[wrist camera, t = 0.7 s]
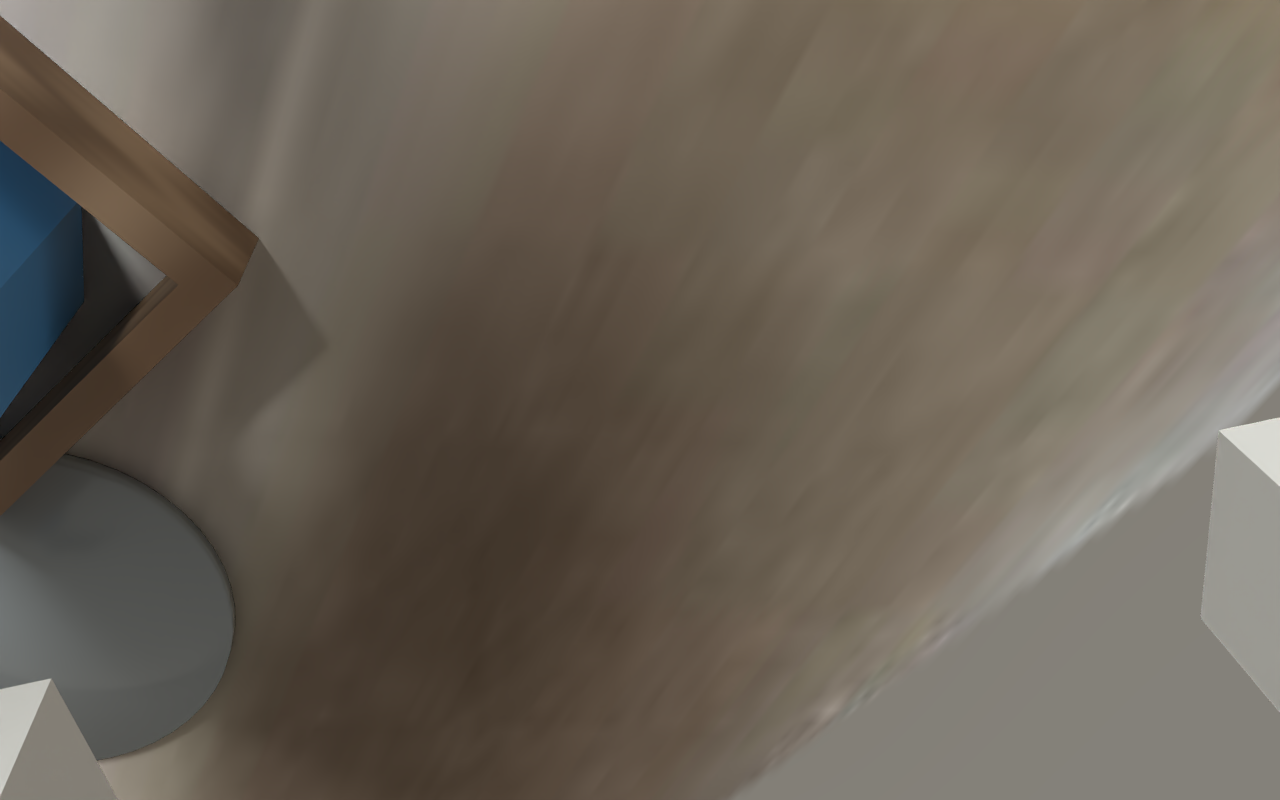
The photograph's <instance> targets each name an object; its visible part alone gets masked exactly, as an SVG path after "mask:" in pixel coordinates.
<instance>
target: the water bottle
mask: <svg viewBox="0 0 1280 800" xmlns="http://www.w3.org/2000/svg"><path fill="white" fill-rule="evenodd" d="M83 302H84V278H83V240H82V207H81V206H80V205H79V204H78V203H77V202H75V201H74V200H73V199H72V198H70V197H69V196H68V195H67V194H65V193H64V192H63V191H62V190H61V189H59V188H58V187H57V186H56V185H54V184H53V183H52V182H51V181H49V180H48V179H47V178H46V177H44V176H43V175H42V174H41V173H40V172H38V171H37V170H36V169H35V168H33V167H32V166H31V165H30V164H28V163H27V162H26V161H25V160H23V159H22V158H21V157H20V156H19V155H17V154H16V153H15V152H14V151H12V150H11V149H10V148H9V147H7V146H6V145H5V144H4V143H2V142H1V141H0V417H1V416H2V415H3V413H4V412H5V410H6V409H7V408H8V406H9V405H10V403H11V402H12V401H13V399H14V398H15V397H16V395H17V394H18V392H19V391H20V390H21V388H22V387H23V385H24V384H25V383H26V381H27V380H28V378H29V377H30V376H31V374H32V373H33V372H34V370H35V369H36V367H37V366H38V365H39V363H40V362H41V360H42V359H43V358H44V356H45V355H46V353H47V352H48V351H49V349H50V348H51V347H52V345H53V344H54V342H55V341H56V340H57V338H58V337H59V335H60V334H61V333H62V331H63V330H64V328H65V327H66V326H67V324H68V323H69V322H70V320H71V319H72V317H73V316H74V315H75V313H76V312H77V310H78V309H79V308H80V306H81V305H82V303H83Z"/></svg>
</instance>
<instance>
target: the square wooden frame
mask: <svg viewBox="0 0 1280 800" xmlns="http://www.w3.org/2000/svg"><path fill="white" fill-rule="evenodd" d="M0 141H1V142H2V143H4V144H5V145H6V146H7V147H9V148H10V149H11V150H12V151H14V152H15V153H16V154H17V155H19V156H20V157H21V158H22V159H23V160H25V161H26V162H27V163H28V164H30V165H31V166H32V167H33V168H35V169H36V170H37V171H38V172H40V173H41V174H42V175H43V176H44V177H46V178H47V179H48V180H49V181H51V182H52V183H53V184H54V185H56V186H57V187H58V188H59V189H61V190H62V191H63V192H64V193H65V194H67V195H68V196H69V197H70V198H72V199H73V200H74V201H75V202H77V203H78V204H79V205H80V206H81V207H83V208H84V209H85V210H86V211H88V212H89V213H90V214H91V215H93V216H94V217H95V218H96V219H98V220H99V221H100V222H101V223H102V224H104V225H105V226H106V227H107V228H109V229H110V230H111V231H112V232H114V233H115V234H116V235H117V236H119V237H120V238H121V239H122V240H123V241H125V242H126V243H127V244H128V245H130V246H131V247H132V248H133V249H135V250H136V251H137V252H138V253H140V254H141V255H142V256H143V257H144V258H146V259H147V260H148V261H149V262H151V263H152V264H153V265H154V266H156V267H157V268H158V269H159V270H161V271H162V272H163V273H164V274H165V275H167V276H166V277H165V278H164V279H163V280H162V281H161V282H160V283H159V284H158V285H157V286H156V287H155V288H154V289H153V290H152V291H151V292H150V293H149V294H148V295H147V296H146V297H145V298H144V299H143V300H142V301H141V302H140V303H139V304H138V305H137V306H136V307H135V308H134V309H133V310H132V311H131V312H130V313H129V314H128V315H127V316H126V317H125V318H124V319H123V320H122V321H121V322H120V323H118V324H117V325H116V326H115V327H114V328H113V329H112V330H111V331H110V332H109V333H108V334H107V335H106V336H105V337H104V338H103V339H102V340H101V341H100V342H99V343H98V344H97V345H96V346H95V347H94V348H93V349H92V350H91V351H90V352H89V353H88V354H87V355H86V356H85V357H84V358H83V359H82V360H81V361H80V362H79V363H78V364H77V365H76V366H75V367H74V368H73V369H72V370H71V371H70V372H69V373H68V374H67V375H66V376H65V377H64V378H63V379H62V380H61V381H60V382H59V383H58V384H57V385H56V386H55V387H54V388H53V389H52V390H51V391H50V392H49V393H48V394H47V395H46V396H45V397H44V398H43V399H42V400H41V401H40V402H39V403H38V404H37V405H36V406H35V407H34V408H33V409H32V410H31V411H30V412H29V413H28V414H27V415H26V416H25V417H24V418H23V419H22V420H21V421H20V422H19V423H18V424H17V425H16V426H15V427H14V428H13V429H12V430H11V431H10V432H9V433H8V434H7V435H6V436H5V437H4V438H3V439H2V440H1V441H0V516H1V515H2V514H3V513H4V512H5V511H6V510H7V509H8V508H9V507H10V506H11V505H12V504H13V503H14V502H15V501H16V500H17V499H19V498H20V497H21V496H22V495H23V494H24V493H25V492H26V491H27V490H28V489H29V488H30V487H31V486H32V485H33V484H34V483H35V482H36V481H37V480H38V479H39V478H40V477H41V476H42V475H43V474H44V473H45V472H46V471H47V470H48V469H49V468H50V467H51V466H52V465H53V464H55V463H56V462H57V461H58V460H59V459H60V458H61V457H62V456H63V455H64V454H65V453H66V452H67V451H68V450H69V449H70V448H71V447H72V446H73V445H74V444H75V443H76V442H77V441H78V440H79V439H80V438H81V437H82V436H83V435H84V434H85V433H86V432H87V431H88V430H90V429H91V428H92V427H93V426H94V425H95V424H96V423H97V422H98V421H99V420H100V419H101V418H102V417H103V416H104V415H105V414H106V413H107V412H108V411H109V410H110V409H111V408H112V407H113V406H114V405H115V404H116V403H117V402H118V401H119V400H120V399H121V398H122V397H123V396H125V395H126V394H127V393H128V392H129V391H130V390H131V389H132V388H133V387H134V386H135V385H136V384H137V383H138V382H139V381H140V380H141V379H142V378H143V377H144V376H145V375H146V374H147V373H148V372H149V371H150V370H151V369H152V368H153V367H154V366H155V365H156V364H157V363H158V362H160V361H161V360H162V359H163V358H164V357H165V356H166V355H167V354H168V353H169V352H170V351H171V350H172V349H173V348H174V347H175V346H176V345H177V344H178V343H179V342H180V341H181V340H182V339H183V338H184V337H185V336H186V335H187V334H188V333H189V332H190V331H191V330H192V329H193V328H195V327H196V326H197V325H198V324H199V323H200V322H201V321H202V320H203V319H204V318H205V317H206V316H207V315H208V314H209V313H210V312H211V311H212V310H213V309H214V308H215V307H216V306H217V305H218V304H219V303H220V302H221V301H222V300H223V299H224V298H225V297H226V296H227V295H228V294H230V293H231V292H232V291H233V290H234V289H235V288H236V287H237V286H238V284H239V282H240V279H241V277H242V275H243V273H244V270H245V268H246V266H247V264H248V262H249V259H250V257H251V255H252V253H253V250H254V248H255V246H256V244H257V241H258V239H259V238H258V237H257V236H255V235H254V234H253V233H252V232H251V231H250V230H249V229H247V228H246V227H245V226H244V225H243V224H242V223H240V222H239V221H238V220H237V219H236V218H235V217H233V216H232V215H231V214H230V213H229V212H228V211H226V210H225V209H224V208H223V207H222V206H221V205H219V204H218V203H217V202H216V201H215V200H214V199H212V198H211V197H210V196H209V195H208V194H207V193H205V192H204V191H203V190H202V189H201V188H200V187H199V186H197V185H196V184H195V183H194V182H193V181H192V180H190V179H189V178H188V177H187V176H186V175H185V174H183V173H182V172H181V171H180V170H179V169H178V168H176V167H175V166H174V165H173V164H172V163H171V162H169V161H168V160H167V159H166V158H165V157H164V156H162V155H161V154H160V153H159V152H158V151H157V150H155V149H154V148H153V147H152V146H151V145H150V144H149V143H147V142H146V141H145V140H144V139H143V138H142V137H140V136H139V135H138V134H137V133H136V132H135V131H133V130H132V129H131V128H130V127H129V126H128V125H126V124H125V123H124V122H123V121H122V120H121V119H119V118H118V117H117V116H116V115H115V114H114V113H112V112H111V111H110V110H109V109H108V108H107V107H106V106H104V105H103V104H102V103H101V102H100V101H99V100H97V99H96V98H95V97H94V96H93V95H92V94H90V93H89V92H88V91H87V90H86V89H85V88H83V87H82V86H81V85H80V84H79V83H78V82H76V81H75V80H74V79H73V78H72V77H71V76H69V75H68V74H67V73H66V72H65V71H64V70H62V69H61V68H60V67H59V66H58V65H57V64H56V63H54V62H53V61H52V60H51V59H50V58H49V57H47V56H46V55H45V54H44V53H43V52H42V51H40V50H39V49H38V48H37V47H36V46H35V45H33V44H32V43H31V42H30V41H29V40H28V39H26V38H25V37H24V36H23V35H22V34H21V33H19V32H18V31H17V30H16V29H15V28H14V27H12V26H11V25H10V24H9V23H8V22H7V21H6V20H4V19H3V18H2V17H1V16H0Z"/></svg>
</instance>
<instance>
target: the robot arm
mask: <svg viewBox="0 0 1280 800" xmlns="http://www.w3.org/2000/svg"><path fill="white" fill-rule="evenodd" d="M1213 484H1214V485H1213V494H1212V504H1211V514H1210V525H1209V535H1208V546H1207V556H1206V566H1205V576H1204V587H1203V597H1202V607H1201V619H1202V620H1203V621H1204V623H1205V624H1206V625H1207V626H1208V628H1209V629H1210V630H1211V631H1212V632H1213V634H1214V635H1215V636H1216V637H1217V638H1218V640H1219V641H1220V642H1221V643H1222V644H1223V645H1224V647H1225V648H1226V649H1227V650H1228V651H1229V653H1230V654H1231V655H1232V656H1233V657H1234V659H1235V660H1236V661H1237V662H1238V663H1239V665H1240V666H1241V667H1242V668H1243V669H1244V670H1245V672H1246V673H1247V674H1248V675H1249V677H1250V678H1251V679H1252V680H1253V681H1254V682H1255V684H1256V685H1257V686H1258V687H1259V688H1260V689H1261V691H1262V692H1263V693H1264V694H1265V696H1266V697H1267V698H1268V699H1269V700H1270V702H1271V703H1272V704H1273V705H1274V706H1275V708H1276V709H1277V710H1278V711H1279V712H1280V418H1275V419H1270V420H1265V421H1261V422H1257V423H1251V424H1247V425H1242V426H1237V427H1232V428H1228V429H1223V430H1219V431H1218V442H1217V452H1216V464H1215V473H1214V483H1213ZM0 800H118V798H117V797H116V795H115V793H114V791H113V789H112V788H111V786H110V784H109V782H108V780H107V778H106V777H105V775H104V773H103V771H102V769H101V768H100V766H99V764H98V762H97V760H96V759H95V757H94V755H93V753H92V751H91V749H90V748H89V746H88V744H87V742H86V740H85V739H84V737H83V735H82V733H81V731H80V729H79V728H78V726H77V724H76V722H75V720H74V719H73V717H72V715H71V713H70V711H69V710H68V708H67V706H66V704H65V702H64V700H63V699H62V697H61V695H60V693H59V691H58V690H57V688H56V686H55V684H54V682H53V680H52V679H46V680H41V681H37V682H32V683H27V684H23V685H18V686H13V687H8V688H4V689H0Z"/></svg>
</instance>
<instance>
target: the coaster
mask: <svg viewBox="0 0 1280 800" xmlns="http://www.w3.org/2000/svg"><path fill="white" fill-rule="evenodd" d="M234 630H235V604H234V599H233V594H232V589H231V585H230V582H229V580H228V577H227V574H226V572H225V569H224V566H223V564H222V563H221V561H220V559H219V557H218V555H217V554H216V552H215V550H214V548H213V547H212V545H211V544H210V543H209V541H208V540H207V539H206V537H205V536H204V535H203V533H202V532H201V531H200V529H199V528H198V527H197V526H196V525H195V524H194V523H193V522H192V521H191V520H190V519H189V518H188V517H187V516H186V515H185V514H184V513H183V512H182V511H181V510H180V509H178V508H177V507H176V506H175V505H173V504H172V503H171V502H170V501H168V500H167V499H166V498H165V497H163V496H162V495H160V494H159V493H157V492H156V491H154V490H152V489H151V488H149V487H148V486H146V485H144V484H143V483H141V482H140V481H137V480H135V479H133V478H131V477H129V476H127V475H125V474H123V473H121V472H119V471H117V470H115V469H112V468H109V467H107V466H104V465H101V464H98V463H96V462H93V461H90V460H87V459H83V458H79V457H75V456H71V455H67V454H64V455H63V456H62V457H61V458H60V459H59V460H58V461H57V462H56V463H55V464H53V465H52V466H51V467H50V468H49V469H48V470H47V471H46V472H45V473H44V474H43V475H42V476H41V477H40V478H39V479H38V480H37V481H36V482H35V483H34V484H33V485H32V486H31V487H30V488H29V489H28V490H27V491H26V492H25V493H24V494H23V495H22V496H21V497H20V498H19V499H17V500H16V501H15V502H14V503H13V504H12V505H11V506H10V507H9V508H8V509H7V510H6V511H5V512H4V513H3V514H2V515H1V516H0V689H4V688H8V687H13V686H18V685H23V684H27V683H32V682H37V681H41V680H46V679H52V680H53V682H54V684H55V686H56V688H57V690H58V691H59V693H60V695H61V697H62V699H63V700H64V702H65V704H66V706H67V708H68V710H69V711H70V713H71V715H72V717H73V719H74V720H75V722H76V724H77V726H78V728H79V729H80V731H81V733H82V735H83V737H84V739H85V740H86V742H87V744H88V746H89V748H90V749H91V751H92V753H93V755H94V757H95V759H96V760H101V759H106V758H112V757H115V756H118V755H122V754H125V753H129V752H132V751H135V750H137V749H140V748H142V747H144V746H147V745H149V744H152V743H154V742H156V741H158V740H159V739H161V738H163V737H165V736H166V735H168V734H170V733H172V732H173V731H175V730H176V729H177V728H179V727H180V726H181V725H183V724H184V723H185V722H187V721H188V720H189V719H190V718H191V717H192V716H193V715H194V714H195V713H196V712H197V711H198V710H199V709H200V708H201V707H202V706H203V705H204V704H205V703H206V701H207V700H208V699H209V697H210V696H211V695H212V693H213V692H214V691H215V689H216V687H217V685H218V683H219V681H220V679H221V677H222V675H223V673H224V670H225V667H226V664H227V661H228V658H229V654H230V651H231V647H232V643H233V637H234Z"/></svg>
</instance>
